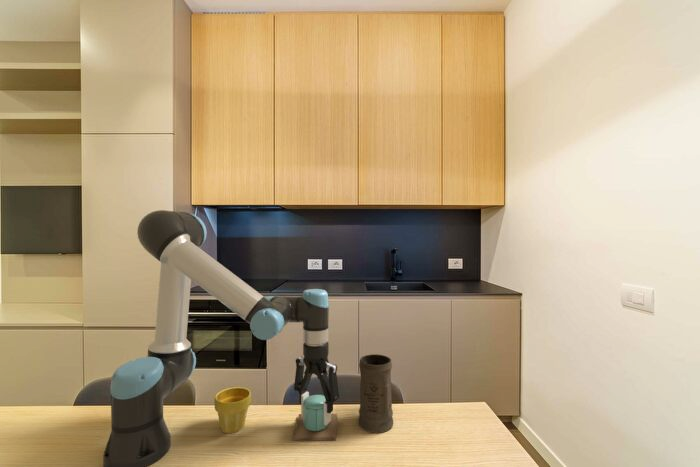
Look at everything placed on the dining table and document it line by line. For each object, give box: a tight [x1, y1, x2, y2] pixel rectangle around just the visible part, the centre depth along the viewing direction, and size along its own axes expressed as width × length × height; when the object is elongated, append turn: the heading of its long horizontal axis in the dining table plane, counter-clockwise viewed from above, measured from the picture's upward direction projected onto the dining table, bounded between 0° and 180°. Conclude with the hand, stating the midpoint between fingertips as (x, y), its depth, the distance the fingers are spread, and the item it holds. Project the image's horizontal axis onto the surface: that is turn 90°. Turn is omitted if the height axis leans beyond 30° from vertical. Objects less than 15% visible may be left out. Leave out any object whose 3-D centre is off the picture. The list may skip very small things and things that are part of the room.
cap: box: [303, 394, 329, 431], centre depth 101 cm, size 7×7×7 cm
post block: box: [292, 413, 338, 442], centre depth 101 cm, size 12×12×7 cm
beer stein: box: [357, 353, 394, 434], centre depth 106 cm, size 15×11×20 cm
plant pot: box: [214, 386, 252, 434], centre depth 102 cm, size 10×10×10 cm
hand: (316, 418), depth 101 cm, fingers closed on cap, 7 cm apart
